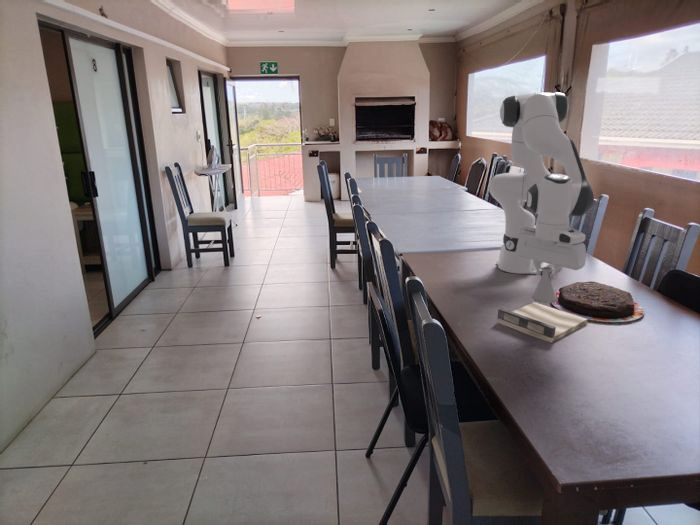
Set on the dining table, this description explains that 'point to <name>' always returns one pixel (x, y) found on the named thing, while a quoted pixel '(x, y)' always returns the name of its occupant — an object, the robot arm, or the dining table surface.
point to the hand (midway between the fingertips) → (546, 276)
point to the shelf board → (541, 321)
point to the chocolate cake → (598, 303)
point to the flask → (545, 288)
